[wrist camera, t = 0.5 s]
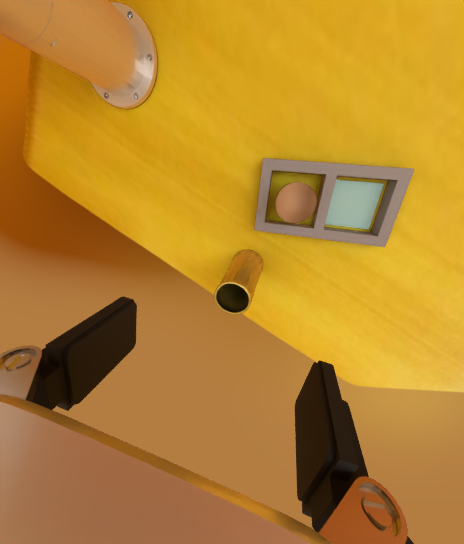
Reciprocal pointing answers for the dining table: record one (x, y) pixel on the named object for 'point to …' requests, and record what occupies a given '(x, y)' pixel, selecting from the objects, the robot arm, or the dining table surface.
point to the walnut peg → (295, 202)
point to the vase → (239, 283)
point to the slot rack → (340, 201)
